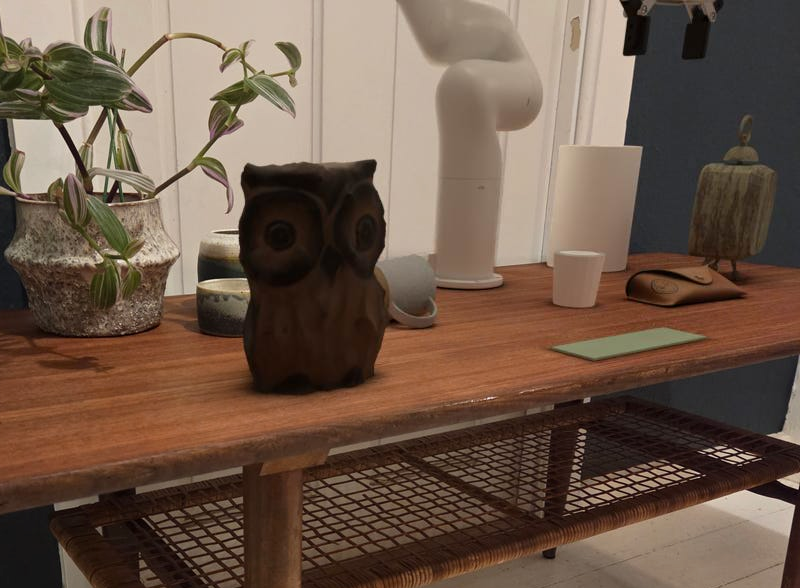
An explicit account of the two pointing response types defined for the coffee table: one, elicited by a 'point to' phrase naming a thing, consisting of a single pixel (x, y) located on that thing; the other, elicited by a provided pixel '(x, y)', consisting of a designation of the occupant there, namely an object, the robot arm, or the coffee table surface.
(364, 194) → the owl
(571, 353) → the edge strip
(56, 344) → the coffee table surface
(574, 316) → the coffee table surface
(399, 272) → the ceramic mug
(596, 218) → the canister
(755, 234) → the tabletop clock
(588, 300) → the white tapered cup
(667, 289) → the sunglasses case
